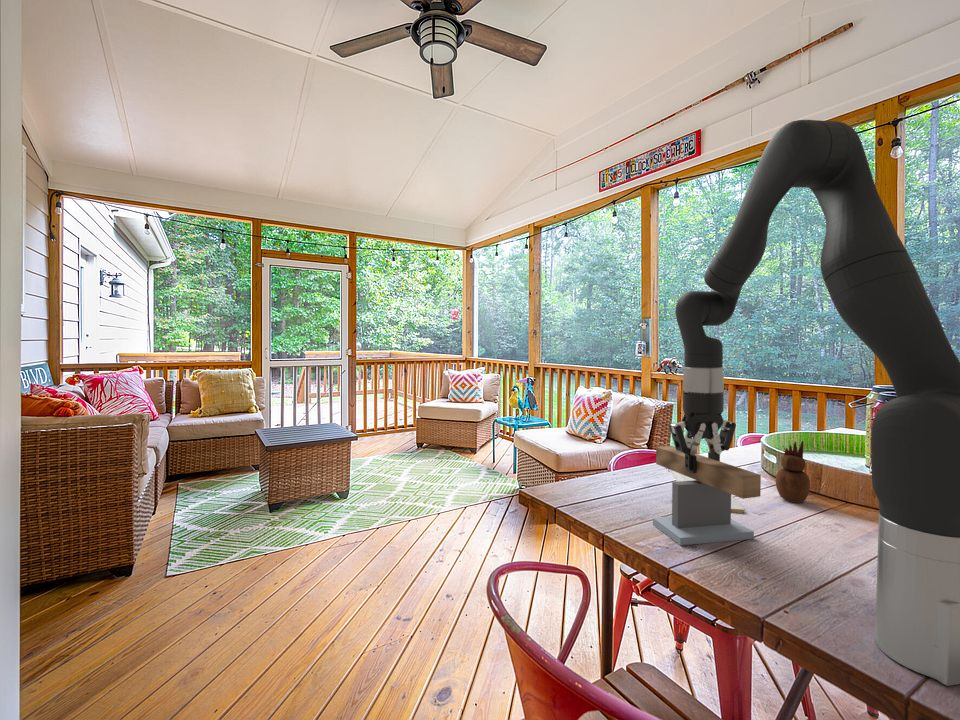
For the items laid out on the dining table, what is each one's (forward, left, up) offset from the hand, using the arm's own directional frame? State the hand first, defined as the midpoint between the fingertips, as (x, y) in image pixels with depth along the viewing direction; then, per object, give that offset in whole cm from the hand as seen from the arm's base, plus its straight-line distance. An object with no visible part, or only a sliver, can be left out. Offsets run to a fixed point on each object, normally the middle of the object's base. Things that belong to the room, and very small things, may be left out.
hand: (702, 471), depth 93 cm
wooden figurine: (+12, -33, -13) cm, 37 cm away
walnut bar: (0, 0, -1) cm, 1 cm away
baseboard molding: (+24, -16, -14) cm, 32 cm away
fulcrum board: (0, 0, -13) cm, 13 cm away
